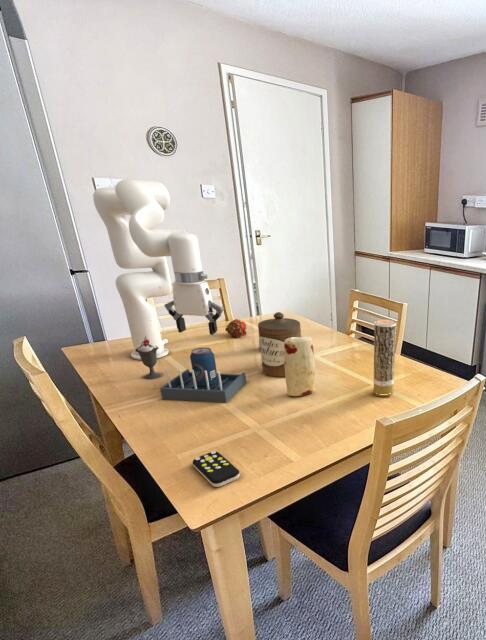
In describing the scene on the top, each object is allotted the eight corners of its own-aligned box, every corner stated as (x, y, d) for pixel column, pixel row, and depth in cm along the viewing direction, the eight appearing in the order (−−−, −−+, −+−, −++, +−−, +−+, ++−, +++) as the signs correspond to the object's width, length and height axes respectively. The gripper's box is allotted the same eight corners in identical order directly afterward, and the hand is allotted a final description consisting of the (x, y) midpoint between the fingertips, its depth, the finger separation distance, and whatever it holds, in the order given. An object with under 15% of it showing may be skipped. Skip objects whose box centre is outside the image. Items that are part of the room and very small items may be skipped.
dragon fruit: (239, 343, 183) (234, 340, 192) (253, 331, 185) (248, 327, 194) (224, 329, 178) (220, 326, 188) (239, 316, 180) (235, 314, 190)
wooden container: (254, 372, 150) (247, 314, 141) (279, 360, 163) (275, 305, 154) (288, 380, 145) (283, 320, 136) (311, 366, 158) (308, 311, 149)
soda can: (190, 386, 133) (183, 351, 128) (207, 378, 139) (202, 345, 134) (206, 390, 131) (200, 355, 126) (223, 382, 137) (218, 349, 132)
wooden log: (396, 391, 142) (398, 321, 132) (388, 399, 136) (390, 326, 126) (378, 387, 144) (379, 318, 134) (370, 395, 138) (370, 323, 128)
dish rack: (188, 379, 142) (184, 353, 138) (246, 382, 142) (243, 356, 138) (162, 399, 127) (156, 370, 123) (226, 402, 127) (222, 374, 123)
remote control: (215, 490, 90) (214, 482, 89) (191, 465, 97) (190, 458, 96) (242, 477, 94) (241, 470, 93) (217, 455, 101) (216, 448, 101)
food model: (290, 401, 131) (285, 341, 123) (283, 393, 136) (278, 335, 128) (319, 394, 136) (316, 337, 128) (311, 387, 141) (308, 331, 133)
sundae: (154, 380, 139) (144, 338, 133) (137, 378, 140) (127, 336, 134) (168, 373, 145) (160, 333, 139) (152, 371, 146) (143, 331, 140)
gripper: (223, 277, 124) (230, 330, 131) (166, 273, 124) (176, 327, 131) (212, 281, 117) (220, 338, 125) (152, 277, 117) (163, 334, 124)
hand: (197, 332), depth 128 cm, fingers open, 9 cm apart
